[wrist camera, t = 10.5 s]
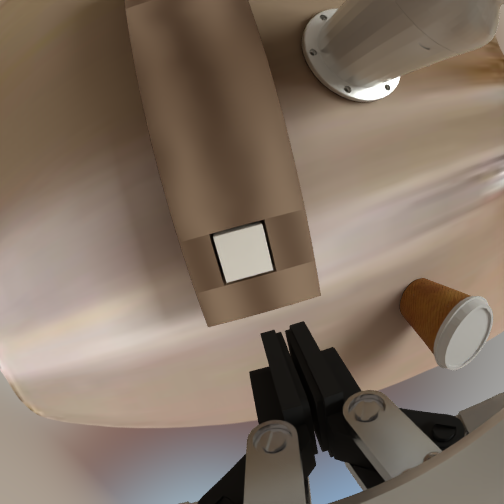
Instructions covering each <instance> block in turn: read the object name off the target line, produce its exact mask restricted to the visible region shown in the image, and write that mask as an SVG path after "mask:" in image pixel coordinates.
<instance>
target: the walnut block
mask: <svg viewBox="0 0 504 504" xmlns="http://www.w3.org/2000/svg"><path fill="white" fill-rule="evenodd" d="M124 2H125V9H126V17H127V24H128V30H129V36H130V42H131V48H132V54H133V60H134V65H135V70H136V76H137V81H138V86H139V91H140V95H141V100H142V105H143V109H144V114H145V118H146V123H147V127H148V131H149V135H150V139H151V143H152V148H153V151H154V155H155V159H156V163H157V167H158V171H159V175H160V178H161V182H162V186H163V189H164V193H165V196H166V200H167V203H168V207H169V210H170V214H171V217H172V221H173V224H174V227H175V230H176V234H177V237H178V240H179V243H180V247H181V250H182V253H183V256H184V259H185V262H186V265H187V268H188V271H189V274H190V277H191V280H192V283H193V286H194V289H195V292H196V295H197V298H198V301H199V303H200V306H201V309H202V312H203V315H204V317H205V320H206V323H207V326H208V327H211V326H215V325H219V324H223V323H227V322H230V321H234V320H238V319H242V318H246V317H249V316H253V315H257V314H260V313H264V312H267V311H271V310H274V309H278V308H281V307H285V306H288V305H291V304H295V303H298V302H301V301H305V300H308V299H311V298H314V297H318V296H321V293H320V287H319V281H318V275H317V269H316V264H315V258H314V253H313V247H312V242H311V237H310V231H309V226H308V221H307V216H306V211H305V207H304V202H303V197H302V193H301V188H300V183H299V179H298V175H297V170H296V166H295V162H294V157H293V153H292V149H291V145H290V141H289V137H288V133H287V129H286V125H285V121H284V117H283V113H282V110H281V106H280V102H279V99H278V95H277V91H276V88H275V84H274V81H273V77H272V74H271V70H270V67H269V64H268V60H267V57H266V54H265V51H264V47H263V44H262V41H261V38H260V35H259V32H258V29H257V25H256V22H255V19H254V16H253V14H252V11H251V8H250V5H249V2H248V0H124ZM256 221H260V222H261V223H262V225H263V229H264V233H265V238H266V242H267V246H268V250H269V254H270V258H271V263H272V267H273V270H271V271H268V272H264V273H261V274H257V275H253V276H250V277H246V278H242V279H239V280H235V281H231V282H228V283H227V282H226V279H225V276H224V272H223V269H222V266H221V262H220V259H219V255H218V252H217V249H216V245H215V242H214V238H213V233H215V232H219V231H223V230H226V229H230V228H234V227H237V226H241V225H245V224H249V223H252V222H256Z"/></svg>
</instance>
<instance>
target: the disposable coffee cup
mask: <svg viewBox="0 0 504 504" xmlns="http://www.w3.org/2000/svg"><path fill="white" fill-rule="evenodd" d="M400 311H401V313H402V315H403V316H404V318H405V319H406V320H407V321H408V322H409V324H410V325H411V326H412V327H413V329H414V330H415V331H416V332H417V334H418V335H419V336H420V337H421V339H422V340H423V341H424V342H425V344H426V345H427V346H428V348H429V349H430V350H431V351H432V353H433V354H434V356H435V360H436V362H437V364H438V365H439V366H440V367H442V368H448V369H450V370H457V369H460V368H462V367H464V366H465V365H467V364H468V363H469V362H471V361H472V360H473V359H474V358H475V357H476V355H477V354H478V353H479V352H480V350H481V349H482V347H483V346H484V344H485V342H486V340H487V338H488V336H489V334H490V331H491V328H492V323H493V312H492V309H491V308H490V307H489V305H488V303H487V301H486V300H485V299H484V298H483V297H481V296H469V295H467V294H465V293H462V292H459V291H457V290H454V289H451V288H449V287H446V286H444V285H441V284H438V283H436V282H433V281H430V280H428V279H425V278H421V279H417V280H415V281H413V282H412V283H411V284H410V285H409V286H408V287H407V288H406V290H405V291H404V293H403V295H402V298H401V302H400Z"/></svg>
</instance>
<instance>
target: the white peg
mask: <svg viewBox="0 0 504 504" xmlns="http://www.w3.org/2000/svg"><path fill="white" fill-rule="evenodd" d="M213 238H214V242H215V245H216V249H217V252H218V255H219V259H220V262H221V266H222V269H223V272H224V276H225V279H226V282H227V283H228V282H231V281H235V280H239V279H242V278H246V277H250V276H253V275H257V274H261V273H264V272H268V271H271V270H273V267H272V263H271V258H270V254H269V250H268V246H267V242H266V238H265V233H264V229H263V225H262V223H261V222H260V221H256V222H252V223H249V224H245V225H241V226H237V227H234V228H230V229H226V230H223V231H219V232H215V233H213Z"/></svg>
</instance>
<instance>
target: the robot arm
mask: <svg viewBox="0 0 504 504" xmlns="http://www.w3.org/2000/svg"><path fill="white" fill-rule="evenodd" d="M502 4H504V0H346V1H345V2H344V3H343V4H342V5H341V6H340V7H339V9H329V10H325V11H322V12H320V13H318V14H316V15H315V16H314V17H313V18H312V19H311V20H310V21H309V23H308V24H307V25H306V27H305V30H304V32H303V36H302V50H303V53H304V57H305V59H306V62H307V64H308V66H309V68H310V69H311V70H312V72H313V73H314V75H315V76H316V77H317V78H318V79H319V80H320V81H321V82H322V84H324V85H325V86H326V87H327V88H329V89H330V90H331V91H333V92H335V93H336V94H338V95H340V96H342V97H344V98H347V99H349V100H353V101H358V102H372V101H377V100H379V99H382V98H384V97H386V96H388V95H389V94H391V93H392V92H393V91H394V90H395V88H396V86H397V85H398V83H399V80H400V76H402V75H405V74H407V73H410V72H413V71H415V70H418V69H420V68H423V67H428V66H430V65H431V64H434V63H437V62H439V61H442V60H445V59H448V58H451V57H454V56H457V55H460V54H463V53H466V52H469V51H473V50H476V49H478V48H481V47H483V46H485V45H486V44H487V43H489V42H490V41H491V40H492V38H493V37H494V35H495V33H496V31H497V27H498V23H499V15H500V6H501V5H502ZM311 54H312V55H313V56H312V55H311ZM344 89H345V90H346V92H345V90H344ZM285 333H286V337H287V342H288V346H289V351H290V353H289V351H288V348H287V346H286V343H285V341H284V338H283V336H282V333H281V332H279V333H275V330H272V331H268V332H265V333H261V338H262V341H263V345H264V349H265V352H266V356H267V359H268V363H269V367H265V368H262V369H258V370H254V371H250V372H249V373H250V379H251V385H252V390H253V396H254V401H255V406H256V412H257V417H258V422H259V425H258V426H257V427H255V428H254V429H253V430H252V431H251V433H250V434H249V436H248V439H247V450H246V454H245V455H244V456H243V457H242V458H241V459H240V460H239V461H238V462H237V464H236V465H235V466H234V467H233V468H232V469H231V470H230V471H229V472H228V473H227V474H226V475H225V476H224V477H223V478H222V479H221V480H220V481H218V482H217V484H215V485H214V486H213V487H212V488H211V489H210V490H209V491H208V492H207V493H206V494H205V495H204V496H203V497H202V498H201V499H200V500H199V501H198V502H194V503H189V502H185V503H180V504H311V495H310V486H309V478H308V476H309V475H310V473H311V472H312V470H313V469H314V467H315V466H316V462H315V456H314V455H315V454H317V453H318V451H317V445H316V439H315V434H316V437H317V439H318V442H319V445H320V447H321V450H322V451H323V452H324V451H327V450H328V452H329V455H330V457H333V456H334V458H335V459H336V460H340V461H343V462H345V464H346V467H347V468H348V470H349V471H350V473H351V474H352V475H353V477H354V478H355V480H356V481H357V483H358V484H359V486H360V487H361V488H362V490H363V491H362V492H360V493H357V494H355V495H352V496H349V497H346V498H344V499H341V500H338V501H335V502H332V503H329V504H504V392H503V393H500V394H498V395H496V396H494V397H492V398H490V399H487V400H485V401H483V402H481V403H479V404H476V405H474V406H472V407H469V408H467V409H465V410H462V411H460V412H459V413H458V415H456V416H451V415H447V414H437V413H430V412H422V411H415V410H407V409H402V408H398V407H397V406H396V405H395V404H394V403H393V402H392V401H391V400H390V399H389V398H388V397H387V396H386V395H384V394H383V393H381V392H378V391H374V390H366V391H361V389H360V388H359V386H358V385H357V383H356V381H355V380H354V378H353V377H352V375H351V373H350V372H349V370H348V369H347V367H346V365H345V364H344V362H343V361H342V359H341V358H340V356H339V354H338V353H337V351H336V350H335V348H333V347H332V348H329V349H326V350H323V351H320V349H319V347H318V346H317V344H316V342H315V340H314V338H313V337H312V335H311V333H310V331H309V329H308V328H307V326H306V324H305V322H304V321H303V322H300V323H296V324H293V325H290V329H289V330H286V331H285ZM290 355H291V356H290ZM314 431H315V433H314Z"/></svg>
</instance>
